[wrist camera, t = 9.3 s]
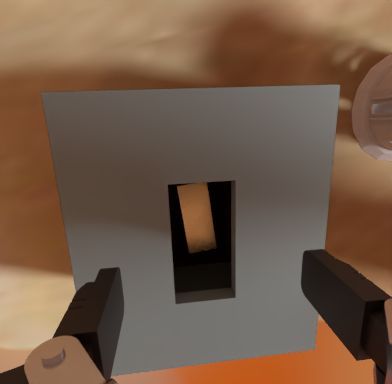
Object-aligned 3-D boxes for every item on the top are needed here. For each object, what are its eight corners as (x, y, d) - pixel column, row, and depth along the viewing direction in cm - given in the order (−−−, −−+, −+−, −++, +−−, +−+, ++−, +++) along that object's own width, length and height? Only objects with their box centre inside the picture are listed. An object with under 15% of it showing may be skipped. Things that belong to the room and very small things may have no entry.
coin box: (265, 100, 23) (340, 84, 13) (260, 268, 27) (314, 349, 17) (96, 106, 21) (40, 91, 12) (119, 281, 25) (91, 378, 16)
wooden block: (196, 166, 23) (206, 181, 18) (204, 219, 25) (216, 248, 19) (173, 170, 23) (177, 186, 18) (183, 223, 25) (189, 253, 19)
